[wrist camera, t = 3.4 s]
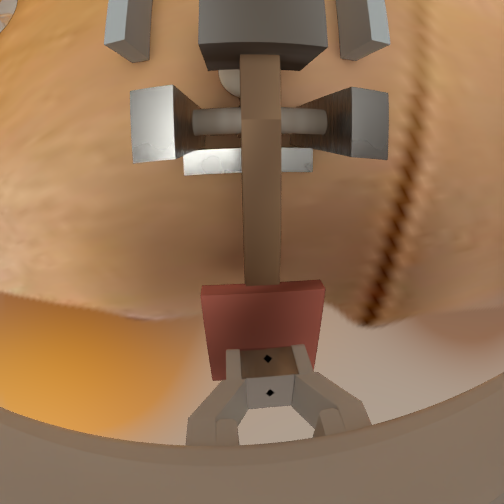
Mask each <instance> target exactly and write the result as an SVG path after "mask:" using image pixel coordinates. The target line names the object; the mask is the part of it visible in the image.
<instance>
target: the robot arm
mask: <svg viewBox="0 0 504 504" xmlns="http://www.w3.org/2000/svg"><path fill="white" fill-rule="evenodd" d="M240 361H241V362H240ZM290 405H292V407H293V408H294V409H295V410H296V411H297V412H298V413H299V414H300V415H301V416H302V417H303V418H304V419H305V420H306V421H307V422H308V423H309V424H310V425H311V426H312V427H313V428H314V429H315V431H314V434H313V438H308V439H302V440H295V441H287V442H278V443H268V444H255V445H239V437H238V428H237V427H238V425H239V424H240V422H241V420H242V419H243V417H244V416H245V414H246V412H247V410H248V409H256V408H265V407H277V406H290ZM0 504H504V372H503V373H501V374H499V375H498V376H496V377H494V378H492V379H490V380H488V381H487V382H484V383H483V384H481V385H478V386H476V387H474V388H472V389H470V390H468V391H466V392H464V393H461V394H459V395H457V396H455V397H453V398H450V399H448V400H445V401H443V402H441V403H438V404H435V405H433V406H430V407H427V408H425V409H422V410H419V411H416V412H413V413H410V414H408V415H405V416H401V417H398V418H395V419H392V420H388V421H385V422H381V423H378V424H374V425H372V424H371V422H370V420H369V417H368V415H367V412H366V410H365V408H364V405H363V403H362V402H361V401H360V400H359V399H357V398H356V397H354V396H352V395H351V394H349V393H348V392H346V391H345V390H343V389H342V388H340V387H339V386H337V385H336V384H334V383H333V382H332V381H330V380H328V379H327V378H326V377H324V376H323V375H321V374H320V373H318V372H314V371H313V368H312V365H311V362H310V359H309V356H308V353H307V350H306V348H305V345H304V344H298V345H291V346H281V347H269V348H251V349H227V350H226V380H222V381H221V382H220V383H219V385H218V386H217V387H216V388H215V389H214V390H213V391H212V393H211V394H210V395H209V396H208V397H207V398H206V399H205V400H204V401H203V402H202V404H201V405H200V406H199V407H198V408H197V409H196V410H195V411H194V413H193V414H192V415H191V416H190V417H189V418H188V425H187V436H186V446H184V445H165V444H154V443H144V442H135V441H127V440H120V439H114V438H108V437H102V436H97V435H92V434H87V433H82V432H78V431H74V430H69V429H65V428H62V427H58V426H54V425H50V424H47V423H44V422H40V421H37V420H34V419H31V418H28V417H25V416H22V415H19V414H17V413H14V412H11V411H9V410H6V409H4V408H1V407H0Z"/></svg>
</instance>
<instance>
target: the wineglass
mask: <svg viewBox="0 0 504 504" xmlns="http://www.w3.org/2000/svg"><path fill="white" fill-rule="evenodd" d="M16 6H17V0H1V1H0V32H1V31H2V30H3V29H4V28H5V26H6V25H7V24H8V22H9V21H10V19H11V17H12V15H13V14H14V11H15V9H16Z"/></svg>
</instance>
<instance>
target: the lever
mask: <svg viewBox="0 0 504 504" xmlns="http://www.w3.org/2000/svg"><path fill="white" fill-rule="evenodd" d="M198 44H199V47H200V50H201V52H202V55H203V58H204V60H205V63H206V66H207V68H208V71H211V70H233V69H239V71H240V106H239V107H233V108H212V109H197V110H193V118H192V121H193V132H194V136H199V135H210V136H214V135H238V138H241V168H242V207H243V242H244V274H245V284H230V285H204V286H202V290H201V304H202V311H203V319H204V327H205V334H206V341H207V347H208V354H209V361H210V367H211V373H212V379H213V381H216V380H218V381H219V380H226V350H227V349H251V348H269V347H281V346H291V345H298V344H304V345H305V348H306V350H307V353H308V356H309V359H310V362H311V365H312V368H313V370H314V364H315V359H316V352H317V346H318V340H319V333H320V326H321V319H322V312H323V304H324V296H325V287H324V286H323V284H322V282H321V280H307V281H290V282H280V251H281V134H292V133H297V134H321V135H324V134H325V132H326V129H327V115H326V112H325V110H323V109H308V108H287V107H281V79H280V70H294V71H300V70H302V69H303V68H304V67H305V66H306V65H307V64H308V63H310V62H311V61H312V60H313V59H314V58H315V57H317V56H318V55H319V54H320V53H321V52H323V51H324V50H325V49H326V48H328V40H327V26H326V14H325V4H324V0H199V35H198ZM240 362H241V361H240Z"/></svg>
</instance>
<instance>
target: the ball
mask: <svg viewBox="0 0 504 504" xmlns="http://www.w3.org/2000/svg"><path fill="white" fill-rule="evenodd" d="M219 78H220V81H221V83H222V85H223V86H224V88H225V89H226V90H227V91H228V92H230V93H231V94H233V95H235V96H237V97H240V71H239V69H233V70H219Z"/></svg>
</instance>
